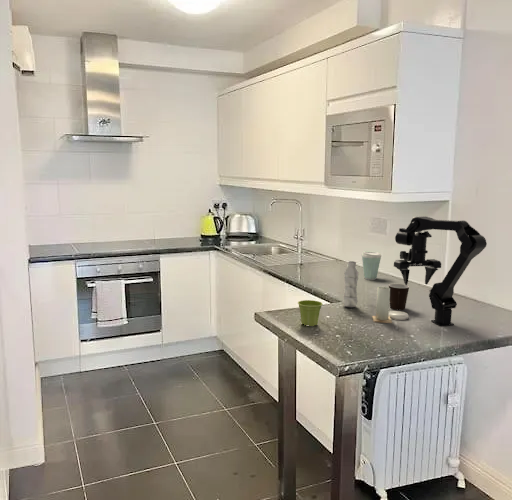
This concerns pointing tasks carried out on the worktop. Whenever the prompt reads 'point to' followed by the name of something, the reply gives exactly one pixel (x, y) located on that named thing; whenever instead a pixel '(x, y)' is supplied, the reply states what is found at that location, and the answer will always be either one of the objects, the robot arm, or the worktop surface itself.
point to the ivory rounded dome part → (398, 315)
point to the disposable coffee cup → (370, 264)
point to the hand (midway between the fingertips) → (416, 284)
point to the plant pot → (309, 312)
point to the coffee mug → (398, 296)
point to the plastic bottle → (350, 285)
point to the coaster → (382, 320)
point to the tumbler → (382, 303)
